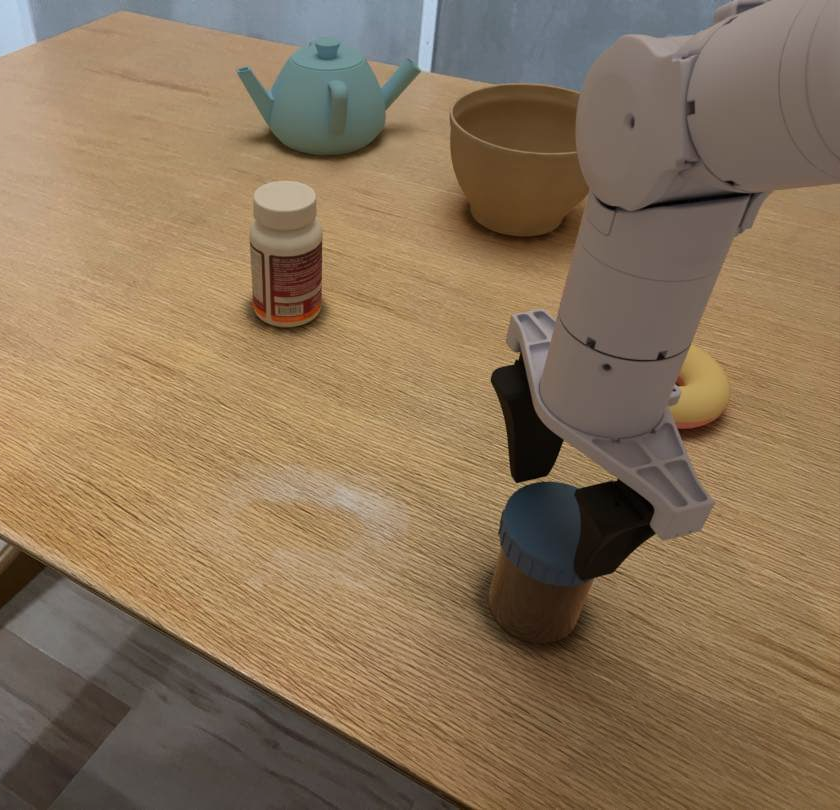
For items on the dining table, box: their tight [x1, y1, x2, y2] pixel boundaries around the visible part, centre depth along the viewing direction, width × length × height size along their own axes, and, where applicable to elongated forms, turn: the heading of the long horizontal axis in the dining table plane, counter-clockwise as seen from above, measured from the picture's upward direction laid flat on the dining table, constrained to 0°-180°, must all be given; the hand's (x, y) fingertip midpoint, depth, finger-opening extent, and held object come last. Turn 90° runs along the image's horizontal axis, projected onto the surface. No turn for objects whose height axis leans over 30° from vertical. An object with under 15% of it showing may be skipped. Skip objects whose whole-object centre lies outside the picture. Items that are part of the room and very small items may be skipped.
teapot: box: [235, 36, 422, 156], centre depth 98 cm, size 15×17×11 cm
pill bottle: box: [248, 180, 324, 328], centre depth 70 cm, size 6×6×11 cm
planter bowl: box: [449, 82, 590, 238], centre depth 83 cm, size 16×16×11 cm
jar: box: [488, 546, 595, 644], centre depth 48 cm, size 5×5×8 cm
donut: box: [669, 343, 731, 430], centre depth 64 cm, size 10×5×9 cm
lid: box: [497, 481, 599, 586], centre depth 46 cm, size 6×6×2 cm
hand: (559, 521), depth 45 cm, fingers open, 6 cm apart
